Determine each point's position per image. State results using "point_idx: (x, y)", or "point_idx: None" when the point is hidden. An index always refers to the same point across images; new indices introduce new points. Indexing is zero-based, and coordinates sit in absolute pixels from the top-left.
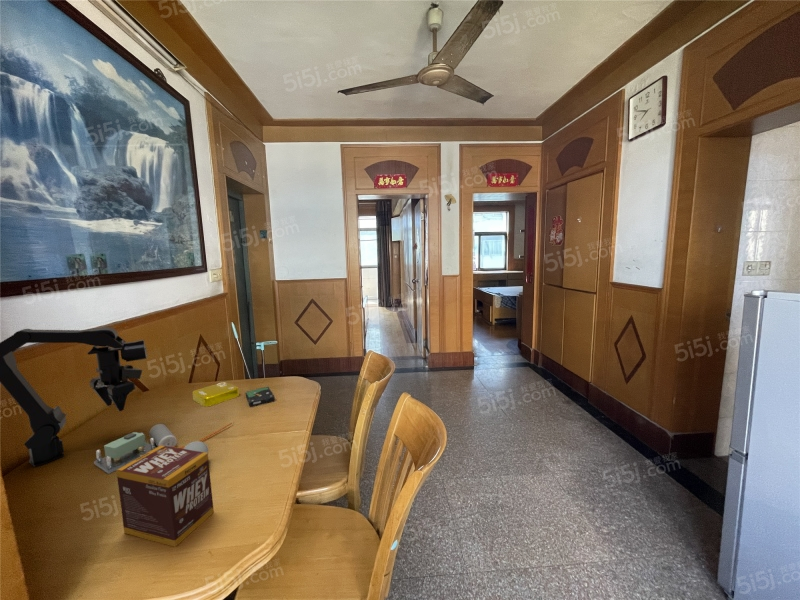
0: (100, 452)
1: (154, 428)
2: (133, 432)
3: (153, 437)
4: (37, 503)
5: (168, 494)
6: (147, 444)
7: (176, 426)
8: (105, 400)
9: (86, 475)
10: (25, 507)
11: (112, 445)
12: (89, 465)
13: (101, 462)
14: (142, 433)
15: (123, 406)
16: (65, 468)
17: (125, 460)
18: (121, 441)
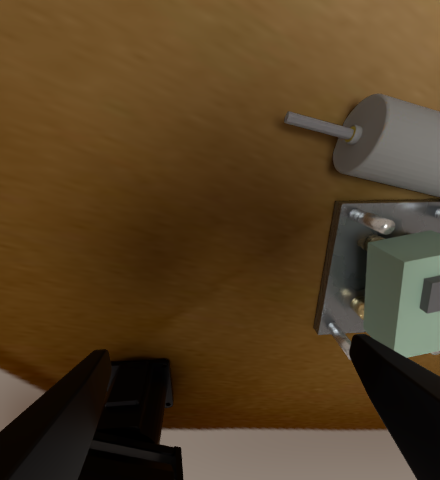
0: (349, 342)
1: (399, 163)
2: (407, 266)
3: (419, 190)
4: (362, 413)
5: None
6: (389, 208)
7: (325, 20)
8: (82, 450)
9: None
10: (353, 424)
11: (426, 345)
12: (304, 334)
13: (348, 326)
14: (393, 222)
15: (403, 362)
16: (256, 367)
17: None
18: (432, 320)
